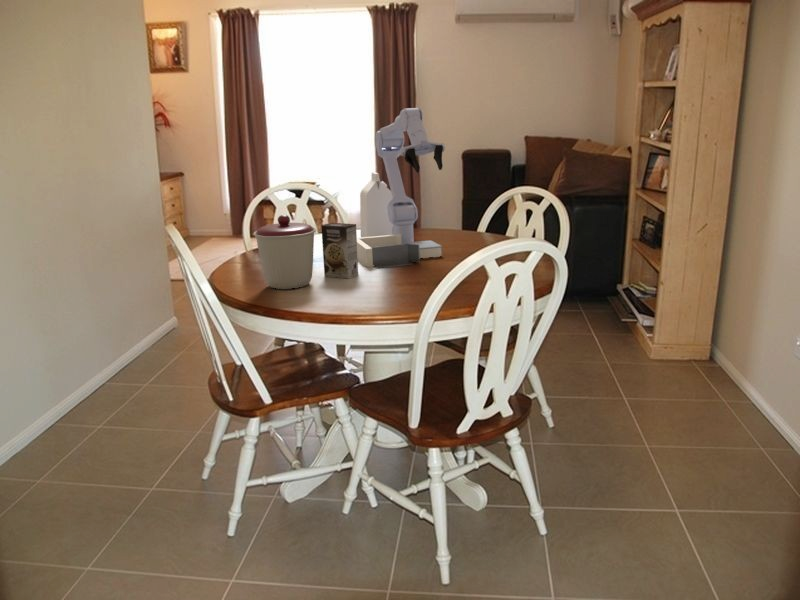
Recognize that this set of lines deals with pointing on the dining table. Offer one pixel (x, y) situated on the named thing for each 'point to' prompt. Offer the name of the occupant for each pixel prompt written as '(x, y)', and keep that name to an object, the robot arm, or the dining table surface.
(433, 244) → the white block
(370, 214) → the milk
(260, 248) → the canister
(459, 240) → the dining table surface
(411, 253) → the grey long angular piece
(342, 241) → the coffee box
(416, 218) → the robot arm
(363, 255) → the shallow white tray
